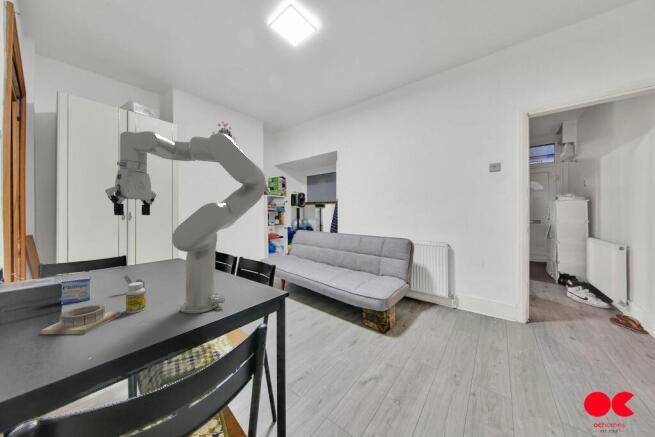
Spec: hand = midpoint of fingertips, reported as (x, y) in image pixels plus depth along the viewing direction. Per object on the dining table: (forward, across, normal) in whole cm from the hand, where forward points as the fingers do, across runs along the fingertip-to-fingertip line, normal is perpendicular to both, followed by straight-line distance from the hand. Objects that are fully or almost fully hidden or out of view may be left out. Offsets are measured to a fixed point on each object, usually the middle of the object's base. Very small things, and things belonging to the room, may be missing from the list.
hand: (133, 215), depth 84 cm
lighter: (+34, +13, +15) cm, 40 cm away
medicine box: (+34, 0, +26) cm, 44 cm away
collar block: (+34, -13, +2) cm, 37 cm away
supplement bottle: (+34, -2, -4) cm, 34 cm away
